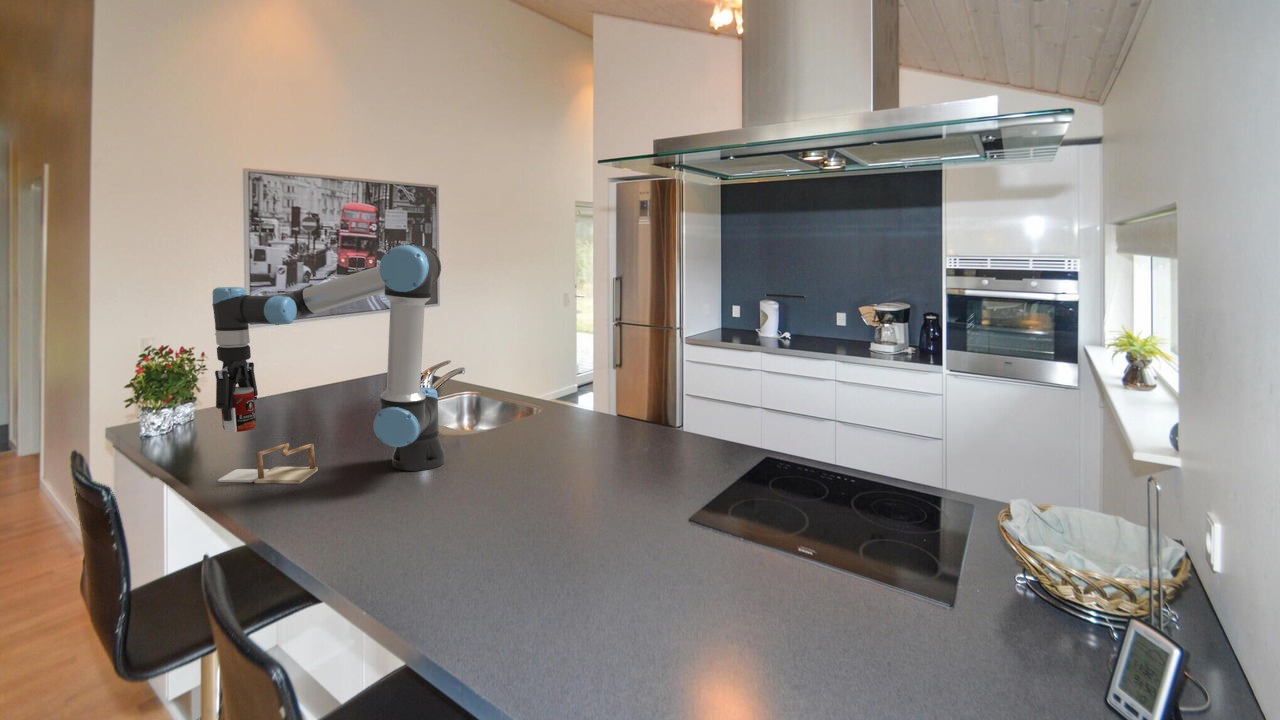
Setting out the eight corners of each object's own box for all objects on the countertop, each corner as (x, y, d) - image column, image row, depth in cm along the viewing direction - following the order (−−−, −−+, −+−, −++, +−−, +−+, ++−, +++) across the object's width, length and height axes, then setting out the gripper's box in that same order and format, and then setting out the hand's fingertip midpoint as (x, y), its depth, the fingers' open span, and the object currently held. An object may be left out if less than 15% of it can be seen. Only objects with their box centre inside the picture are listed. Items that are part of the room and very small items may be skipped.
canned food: (241, 433, 166) (237, 393, 164) (215, 430, 167) (212, 391, 165) (263, 425, 173) (260, 387, 171) (238, 423, 175) (235, 385, 173)
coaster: (269, 471, 177) (268, 469, 177) (252, 482, 169) (251, 480, 169) (236, 471, 177) (236, 469, 177) (217, 481, 168) (217, 479, 168)
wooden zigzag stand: (317, 470, 179) (316, 442, 178) (299, 483, 169) (297, 454, 167) (275, 469, 178) (273, 441, 177) (254, 483, 168) (252, 453, 167)
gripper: (241, 339, 176) (247, 417, 180) (193, 350, 156) (201, 438, 160) (268, 340, 177) (274, 417, 181) (224, 351, 156) (231, 438, 160)
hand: (240, 427), depth 170 cm, fingers closed on canned food, 8 cm apart
